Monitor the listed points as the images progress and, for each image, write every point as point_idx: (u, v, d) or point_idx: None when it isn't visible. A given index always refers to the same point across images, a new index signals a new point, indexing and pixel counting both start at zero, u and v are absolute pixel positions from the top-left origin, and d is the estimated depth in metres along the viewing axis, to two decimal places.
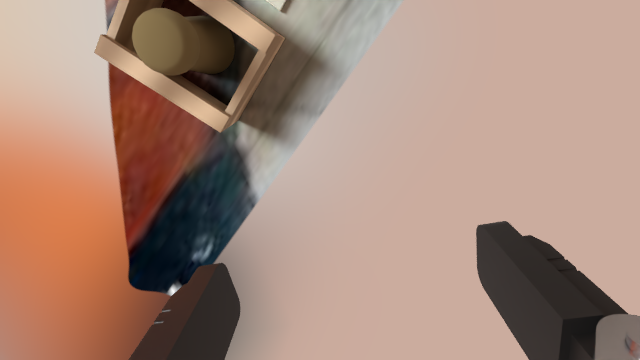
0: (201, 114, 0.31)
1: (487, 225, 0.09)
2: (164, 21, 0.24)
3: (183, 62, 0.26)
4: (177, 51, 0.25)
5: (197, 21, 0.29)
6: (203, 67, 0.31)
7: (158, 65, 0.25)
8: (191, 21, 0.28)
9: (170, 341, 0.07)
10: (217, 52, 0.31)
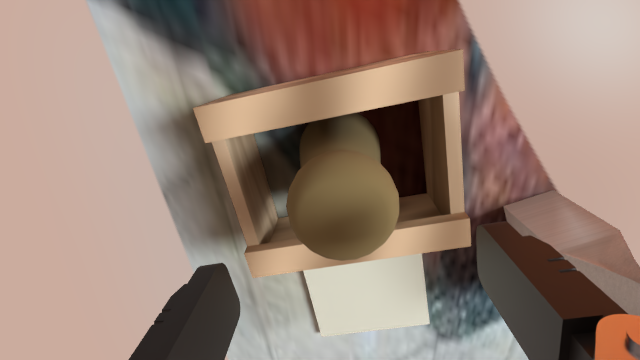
0: (240, 109, 0.16)
1: (487, 225, 0.09)
2: (353, 254, 0.14)
3: (291, 218, 0.14)
4: (307, 233, 0.13)
5: None
6: (302, 161, 0.18)
7: (318, 190, 0.13)
8: None
9: (170, 341, 0.07)
10: None
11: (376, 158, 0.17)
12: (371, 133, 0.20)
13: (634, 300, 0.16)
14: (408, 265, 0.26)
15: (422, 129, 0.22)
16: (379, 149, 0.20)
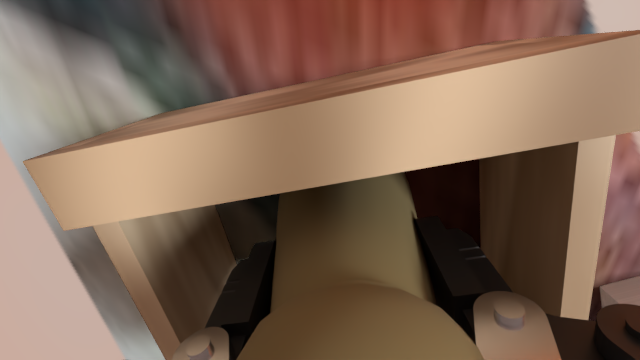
0: (128, 164, 0.07)
1: (420, 219, 0.10)
2: None
3: None
4: None
5: None
6: (276, 250, 0.10)
7: None
8: None
9: (248, 304, 0.08)
10: None
11: (422, 255, 0.09)
12: (402, 186, 0.11)
13: None
14: None
15: (483, 173, 0.13)
16: (416, 215, 0.11)
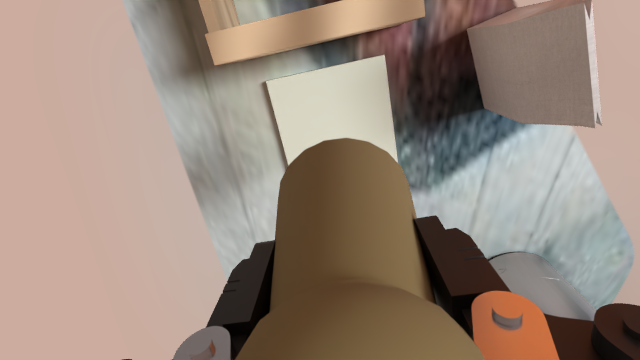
0: None
1: (419, 219, 0.10)
2: None
3: None
4: None
5: None
6: (275, 250, 0.10)
7: None
8: None
9: (249, 304, 0.08)
10: None
11: (422, 254, 0.09)
12: (401, 186, 0.11)
13: (574, 32, 0.16)
14: (375, 98, 0.26)
15: None
16: (415, 214, 0.11)
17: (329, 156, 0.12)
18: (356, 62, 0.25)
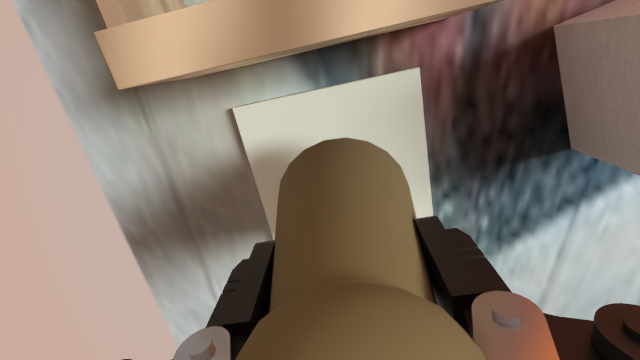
0: None
1: (419, 219, 0.10)
2: None
3: None
4: None
5: None
6: (275, 250, 0.10)
7: None
8: None
9: (249, 304, 0.08)
10: None
11: (422, 254, 0.09)
12: (401, 186, 0.11)
13: None
14: (403, 135, 0.17)
15: None
16: (415, 214, 0.11)
17: (329, 156, 0.12)
18: (374, 79, 0.16)
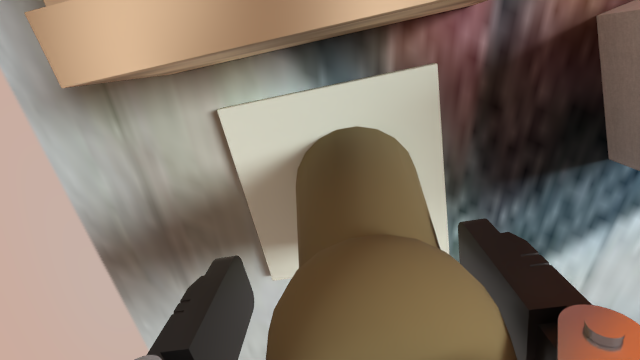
0: None
1: (467, 222, 0.09)
2: None
3: None
4: None
5: None
6: (299, 224, 0.11)
7: None
8: None
9: (193, 329, 0.07)
10: None
11: (429, 221, 0.10)
12: (409, 166, 0.13)
13: None
14: (416, 142, 0.15)
15: None
16: (422, 192, 0.13)
17: (342, 142, 0.13)
18: (383, 77, 0.14)
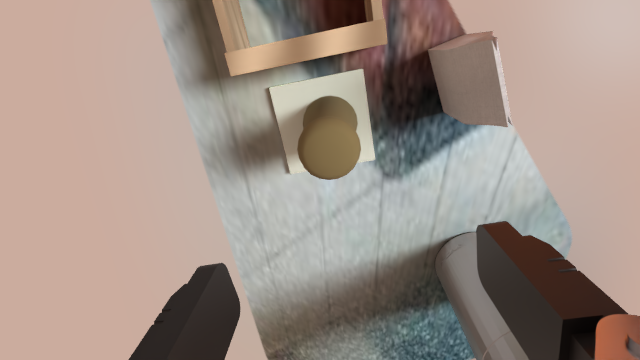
0: None
1: (487, 225, 0.09)
2: (335, 173, 0.25)
3: (300, 154, 0.25)
4: (309, 161, 0.24)
5: None
6: None
7: (315, 136, 0.24)
8: None
9: (170, 341, 0.07)
10: None
11: (350, 124, 0.28)
12: (349, 110, 0.31)
13: (489, 59, 0.23)
14: (356, 103, 0.33)
15: None
16: (355, 120, 0.31)
17: (323, 101, 0.32)
18: (340, 74, 0.32)
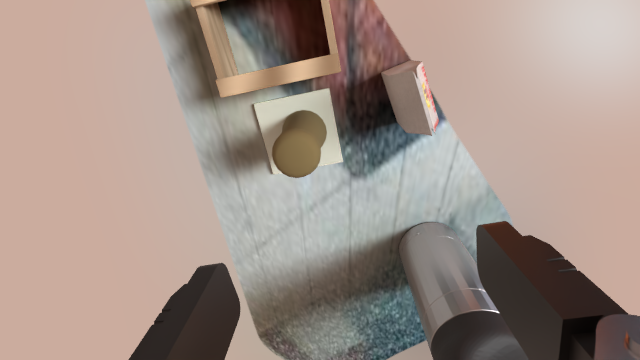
0: None
1: (487, 225, 0.09)
2: (300, 172, 0.32)
3: (273, 158, 0.32)
4: (280, 163, 0.32)
5: None
6: None
7: (283, 144, 0.31)
8: None
9: (170, 341, 0.07)
10: None
11: (316, 133, 0.36)
12: (317, 122, 0.39)
13: (414, 84, 0.30)
14: (324, 115, 0.40)
15: None
16: (322, 130, 0.39)
17: (296, 114, 0.39)
18: (311, 92, 0.39)
